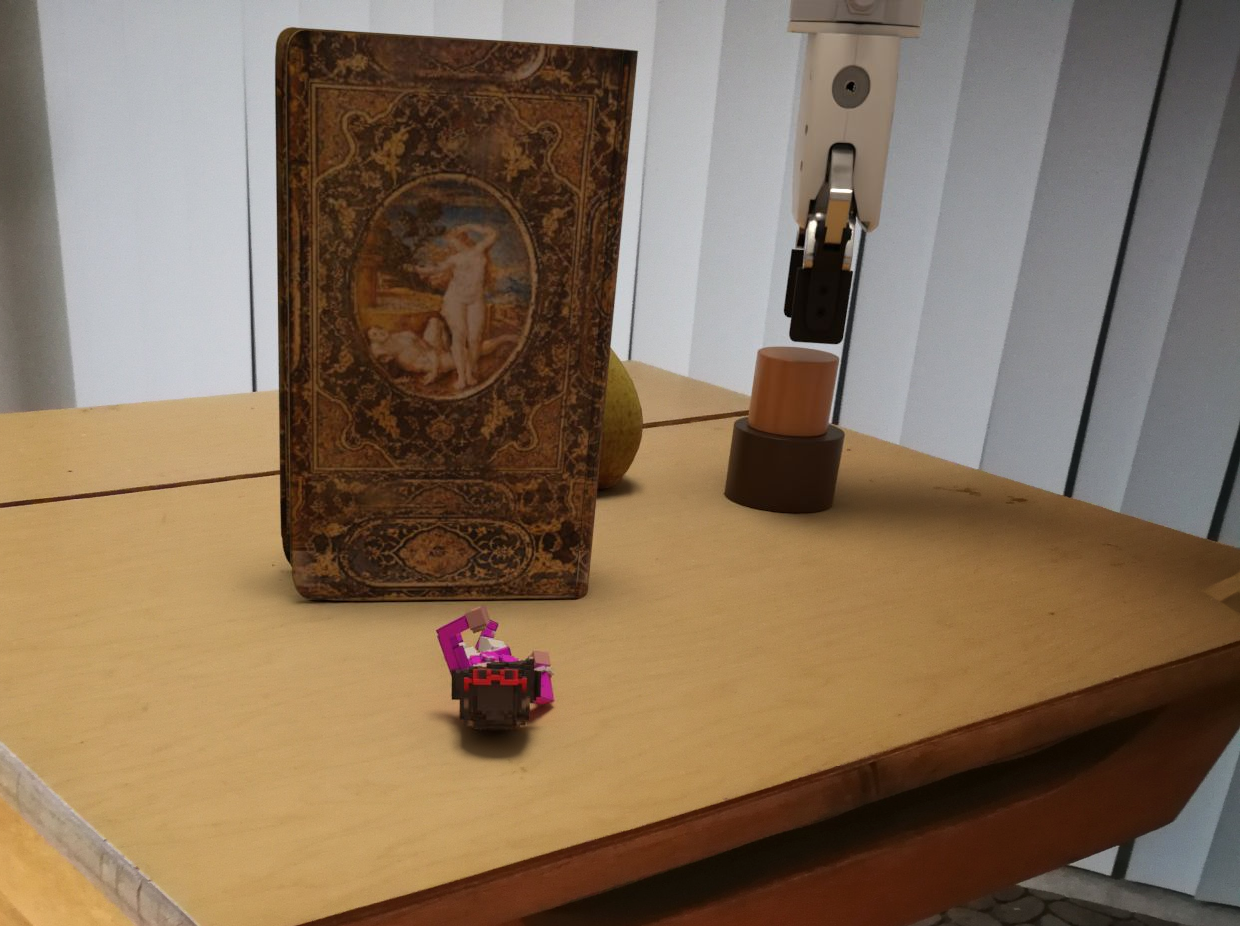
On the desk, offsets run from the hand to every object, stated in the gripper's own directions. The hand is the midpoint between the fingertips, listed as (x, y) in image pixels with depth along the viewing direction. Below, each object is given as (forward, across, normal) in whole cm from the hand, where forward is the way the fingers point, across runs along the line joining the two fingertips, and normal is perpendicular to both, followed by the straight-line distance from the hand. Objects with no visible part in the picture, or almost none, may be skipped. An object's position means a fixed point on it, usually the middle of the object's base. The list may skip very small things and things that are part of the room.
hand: (811, 329), depth 96 cm
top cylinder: (+6, 0, +1) cm, 6 cm away
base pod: (+10, 0, +1) cm, 11 cm away
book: (+11, -25, +20) cm, 33 cm away
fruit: (+10, -1, +15) cm, 18 cm away
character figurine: (+11, -41, +15) cm, 45 cm away
